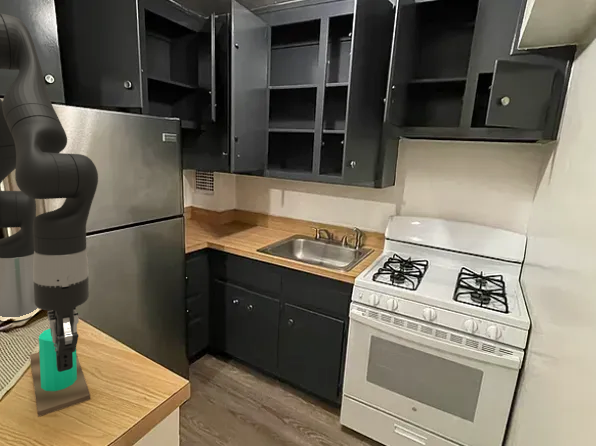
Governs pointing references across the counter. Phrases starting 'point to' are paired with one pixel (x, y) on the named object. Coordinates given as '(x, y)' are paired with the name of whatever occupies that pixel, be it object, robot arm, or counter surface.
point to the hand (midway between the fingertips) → (64, 368)
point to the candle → (53, 366)
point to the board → (60, 398)
